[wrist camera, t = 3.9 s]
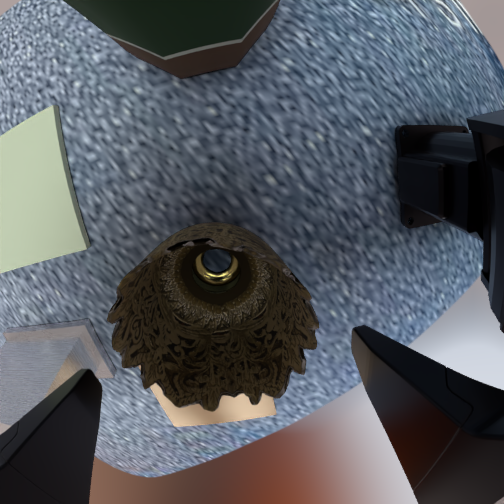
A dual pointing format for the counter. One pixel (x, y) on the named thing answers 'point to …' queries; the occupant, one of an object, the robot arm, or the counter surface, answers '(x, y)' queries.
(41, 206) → the sage mat
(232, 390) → the brown ornate lampshade
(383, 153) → the counter surface
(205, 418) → the oak mat
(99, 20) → the beer bottle
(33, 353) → the box
